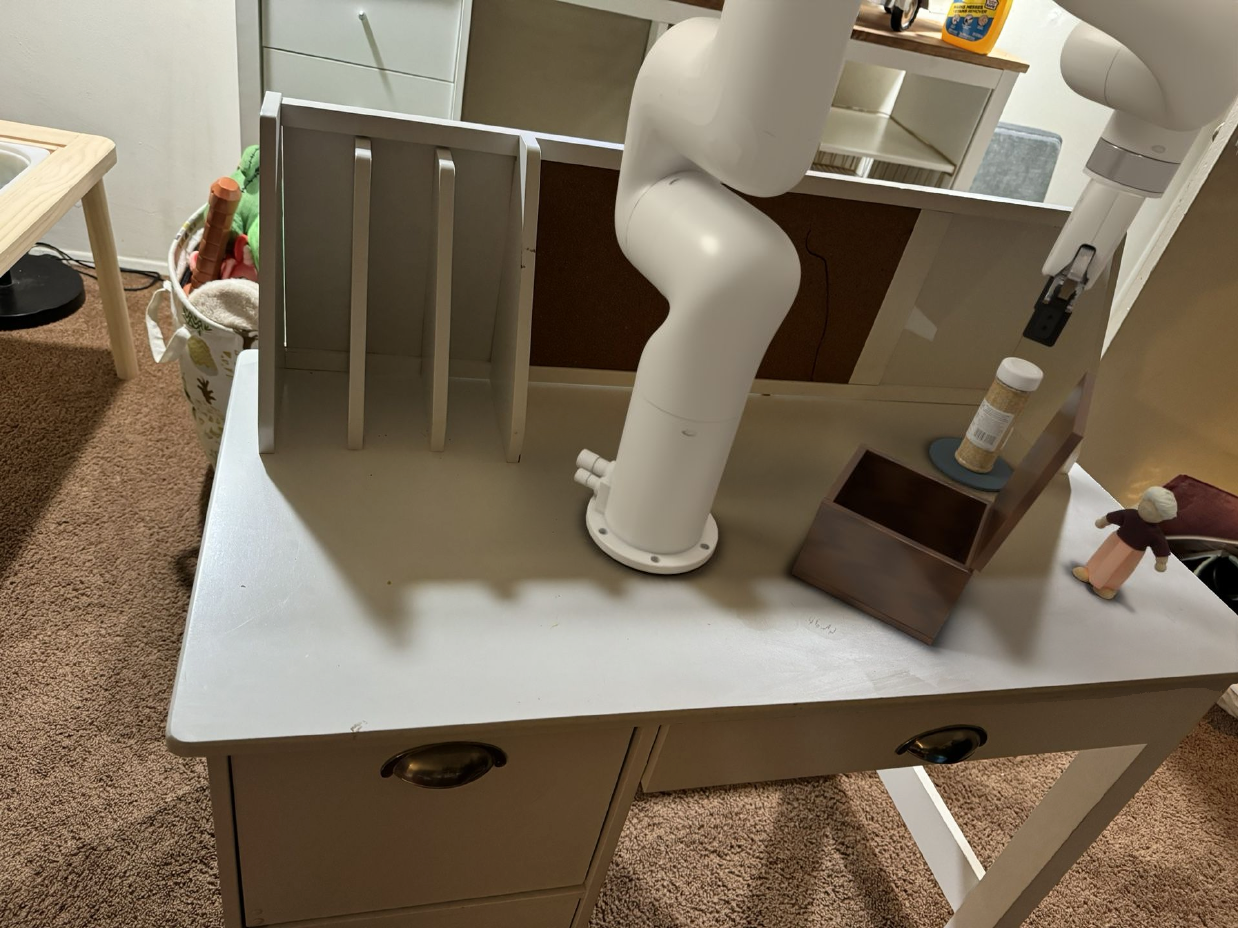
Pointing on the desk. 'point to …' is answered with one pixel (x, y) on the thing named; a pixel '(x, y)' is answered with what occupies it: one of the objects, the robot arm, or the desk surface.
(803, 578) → the chest
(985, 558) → the chest lid
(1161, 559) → the grandmother figurine
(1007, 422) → the sprinkles bottle
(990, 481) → the mat
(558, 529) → the desk surface
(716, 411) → the robot arm
